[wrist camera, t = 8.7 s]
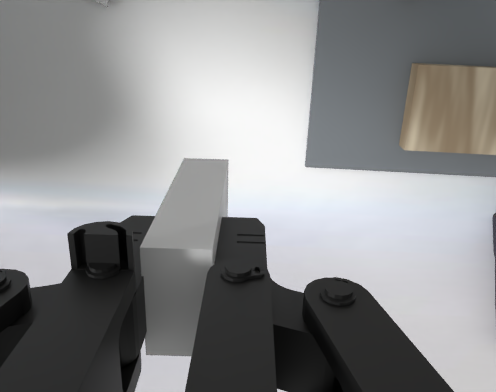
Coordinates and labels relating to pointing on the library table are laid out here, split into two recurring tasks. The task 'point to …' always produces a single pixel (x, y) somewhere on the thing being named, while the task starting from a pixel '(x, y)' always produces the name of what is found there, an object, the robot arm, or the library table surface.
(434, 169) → the mat
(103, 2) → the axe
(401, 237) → the library table surface
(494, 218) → the black red flat box
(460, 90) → the tile
